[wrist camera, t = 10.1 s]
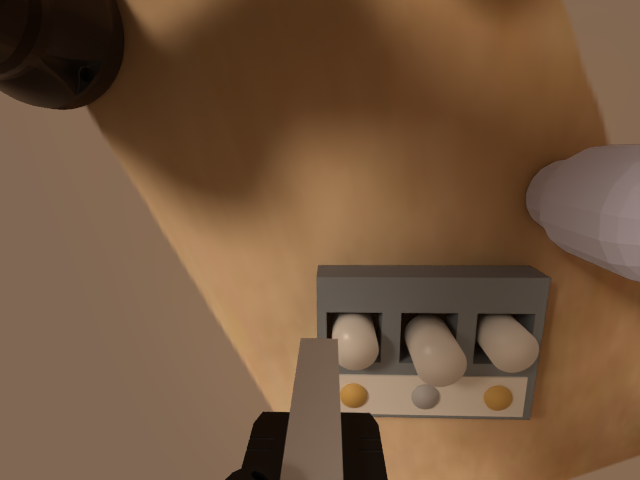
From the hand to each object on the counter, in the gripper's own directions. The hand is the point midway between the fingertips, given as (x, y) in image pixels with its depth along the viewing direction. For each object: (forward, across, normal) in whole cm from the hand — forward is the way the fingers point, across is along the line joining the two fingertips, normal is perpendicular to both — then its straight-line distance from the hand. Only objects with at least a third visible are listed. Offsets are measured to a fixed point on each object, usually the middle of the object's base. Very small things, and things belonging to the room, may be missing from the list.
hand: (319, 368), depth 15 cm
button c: (+26, +19, -12) cm, 34 cm away
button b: (+24, +11, -12) cm, 29 cm away
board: (+27, +11, -13) cm, 32 cm away
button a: (+26, +3, -12) cm, 29 cm away
